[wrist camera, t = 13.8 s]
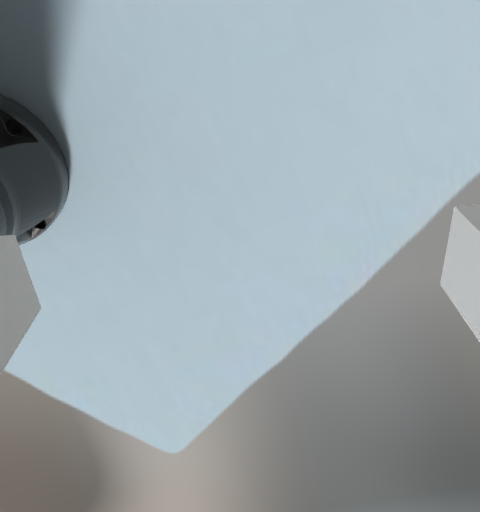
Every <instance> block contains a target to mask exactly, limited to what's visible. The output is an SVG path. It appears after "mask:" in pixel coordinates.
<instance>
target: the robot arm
mask: <svg viewBox="0 0 480 512" xmlns="http://www.w3.org/2000/svg"><path fill="white" fill-rule="evenodd" d="M68 185H69V183H68V171H67V166H66V163H65V160H64V157H63V154H62V152H61V150H60V148H59V146H58V144H57V142H56V140H55V139H54V137H53V136H52V134H51V133H50V132H49V130H48V129H47V128H46V127H45V126H44V125H43V123H42V122H41V121H40V120H39V119H38V118H36V117H35V116H34V115H33V114H32V113H31V112H29V111H28V110H27V109H25V108H24V107H23V106H21V105H19V104H18V103H16V102H14V101H13V100H11V99H9V98H6V97H4V96H2V95H0V375H1V373H2V371H3V370H4V368H5V367H6V365H7V363H8V362H9V360H10V358H11V357H12V355H13V353H14V352H15V350H16V349H17V347H18V345H19V344H20V342H21V340H22V339H23V337H24V335H25V334H26V332H27V331H28V329H29V327H30V326H31V324H32V322H33V321H34V319H35V317H36V316H37V314H38V313H39V311H40V309H41V306H40V303H39V300H38V298H37V295H36V292H35V289H34V286H33V284H32V281H31V278H30V275H29V273H28V270H27V267H26V264H25V261H24V259H23V256H22V253H21V250H20V248H19V245H21V244H23V243H26V242H28V241H31V240H32V239H34V238H36V237H37V236H39V235H40V234H42V233H43V232H44V231H45V230H46V229H47V228H48V227H49V226H50V225H51V224H52V223H53V221H54V220H55V219H56V218H57V216H58V215H59V214H60V212H61V210H62V209H63V207H64V204H65V202H66V198H67V194H68ZM440 284H441V286H442V288H443V289H444V290H445V292H446V293H447V295H448V296H449V298H450V299H451V301H452V302H453V304H454V305H455V307H456V308H457V310H458V311H459V313H460V314H461V316H462V317H463V318H464V320H465V321H466V323H467V324H468V325H469V327H470V328H471V330H472V331H473V333H474V335H475V336H476V337H477V339H478V340H479V342H480V205H467V206H455V207H454V211H453V217H452V222H451V228H450V234H449V239H448V244H447V250H446V255H445V261H444V266H443V272H442V277H441V283H440Z"/></svg>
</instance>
